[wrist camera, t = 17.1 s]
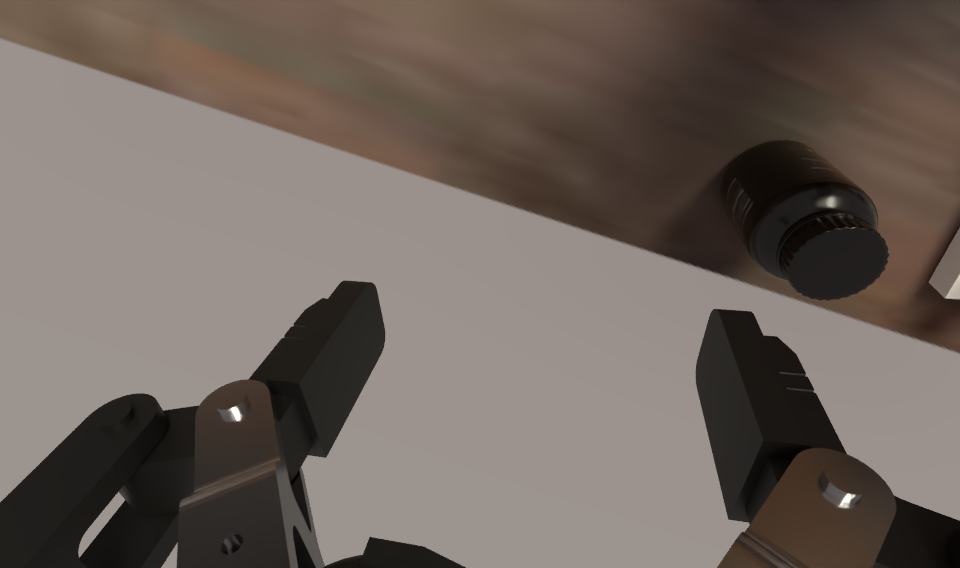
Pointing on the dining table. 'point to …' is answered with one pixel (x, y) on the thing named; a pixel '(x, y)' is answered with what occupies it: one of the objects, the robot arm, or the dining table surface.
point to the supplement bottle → (804, 220)
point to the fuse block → (949, 271)
